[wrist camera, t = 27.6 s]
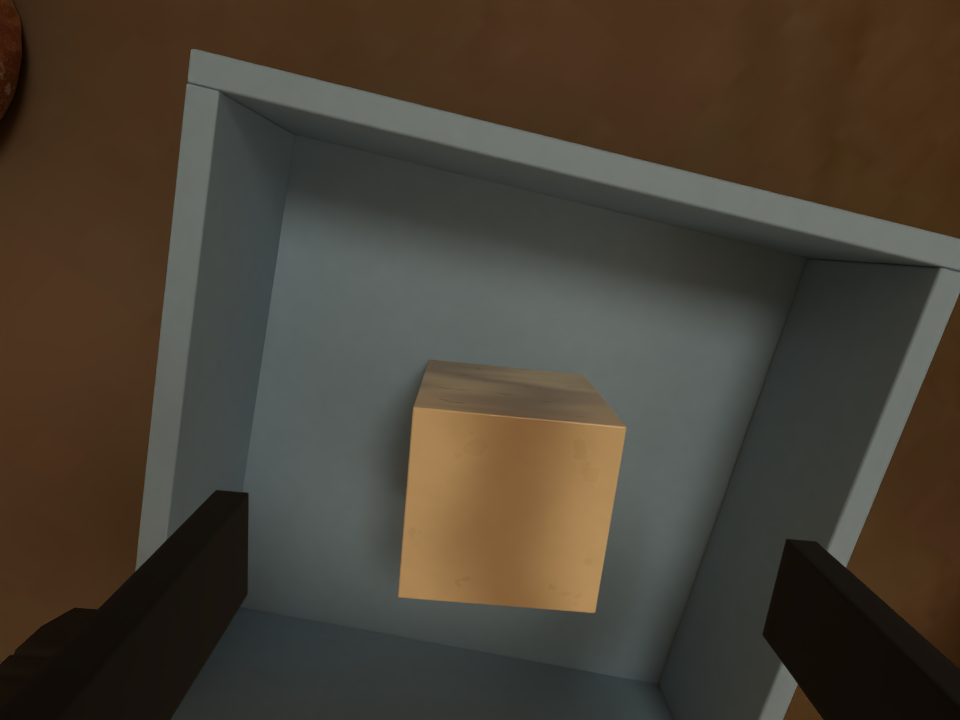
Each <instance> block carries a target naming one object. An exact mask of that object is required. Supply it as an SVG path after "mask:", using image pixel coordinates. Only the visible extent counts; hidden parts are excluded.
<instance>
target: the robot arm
mask: <svg viewBox="0 0 960 720" xmlns="http://www.w3.org/2000/svg"><path fill="white" fill-rule="evenodd" d="M248 514H249V493H246V492H234V491H223V490H216V491H215V492H214V493H213V494H212V495H211V496H210V497H209V498H208V499H207V500H206V501H205V502H204V503H203V504H202V505H201V506H200V507H199V508H198V509H197V510H196V511H195V512H194V513H193V514H192V515H191V516H190V517H189V518H188V519H187V520H186V521H185V522H184V523H183V524H182V525H181V526H180V527H179V528H178V529H177V530H176V531H175V532H174V533H173V534H172V535H171V536H170V537H169V538H168V539H167V540H166V541H165V542H164V543H163V544H162V545H161V546H160V547H159V548H158V549H157V550H156V551H155V552H154V553H153V554H152V555H151V556H150V557H149V558H148V559H147V560H146V561H145V562H144V563H143V564H142V565H141V566H140V567H139V568H138V569H137V570H136V572H135V573H134V574H133V575H132V576H131V577H130V578H129V579H128V580H127V581H126V582H125V583H124V584H123V585H122V586H121V587H120V588H119V589H118V590H117V591H116V592H115V593H114V594H113V595H112V596H111V597H110V598H109V599H108V600H107V601H106V602H105V603H104V604H103V605H102V606H101V607H100V608H99V609H98V610H97V609H84V608H73V609H71V610H70V611H68V612H66V613H64V614H63V615H61V616H59V617H57V618H56V619H54V620H52V621H50V622H48V623H47V624H45V625H43V626H41V627H40V628H39V629H38V630H37V631H36V632H35V633H34V634H33V635H31V636H30V637H29V638H28V639H27V640H26V641H25V642H24V643H23V644H22V645H21V646H19V647H18V648H17V649H16V650H15V653H14V655H10V656H9V657H8V658H6V659H5V660H4V661H3V662H2V663H1V664H0V720H171V718H172V716H173V715H174V713H175V712H176V710H177V708H178V707H179V705H180V703H181V702H182V700H183V699H184V697H185V695H186V694H187V692H188V690H189V689H190V687H191V686H192V684H193V682H194V681H195V679H196V677H197V676H198V674H199V673H200V671H201V669H202V668H203V666H204V664H205V663H206V661H207V660H208V658H209V656H210V655H211V653H212V651H213V650H214V648H215V647H216V645H217V643H218V642H219V640H220V638H221V637H222V635H223V634H224V632H225V630H226V629H227V627H228V625H229V624H230V622H231V621H232V619H233V617H234V616H235V614H236V612H237V611H238V609H239V608H240V606H241V604H242V603H243V601H244V599H245V598H246V596H247V595H248ZM762 635H763V637H764V638H765V639H766V641H767V642H768V644H769V645H770V646H771V648H772V649H773V650H774V652H775V653H776V655H777V656H778V657H779V659H780V660H781V661H782V663H783V664H784V666H785V667H786V668H787V670H788V671H789V673H790V674H791V675H792V677H793V678H794V679H795V681H796V682H797V684H798V685H799V686H800V688H801V689H802V690H803V692H804V693H805V695H806V696H807V697H808V699H809V700H810V701H811V703H812V704H813V706H814V707H815V708H816V710H817V711H818V713H819V714H820V715H821V717H822V718H823V719H824V720H960V669H959V668H958V667H956V666H955V665H954V664H953V663H952V662H951V661H950V660H949V659H947V658H946V657H945V656H944V655H943V654H942V653H941V652H940V651H939V650H937V649H936V648H935V647H934V646H933V645H932V644H931V643H930V642H928V641H927V640H926V639H925V638H924V637H923V636H922V635H921V634H919V633H918V632H917V631H916V630H915V629H914V628H913V627H912V626H911V625H909V624H908V623H907V622H906V621H905V620H904V619H903V618H902V617H900V616H899V615H898V614H897V613H896V612H895V611H894V610H893V609H891V608H890V607H889V606H888V605H887V604H886V603H885V602H884V601H883V600H881V599H880V598H879V597H878V596H877V595H876V594H875V593H874V592H872V591H871V590H870V589H869V588H868V587H867V586H866V585H865V584H863V583H862V582H861V581H860V580H859V579H858V578H857V577H856V576H855V575H853V574H852V573H851V572H850V571H849V570H848V569H847V568H846V567H844V566H843V565H842V564H841V563H840V562H839V561H838V560H837V559H835V558H834V557H833V556H832V555H831V554H830V553H829V552H828V551H827V550H825V549H824V548H823V547H822V546H821V545H820V544H819V543H818V542H816V541H806V540H795V539H786V541H785V545H784V549H783V553H782V557H781V561H780V565H779V569H778V573H777V577H776V581H775V585H774V589H773V593H772V597H771V601H770V605H769V609H768V613H767V617H766V621H765V625H764V629H763V633H762Z"/></svg>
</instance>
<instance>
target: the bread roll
mask: <svg viewBox="0 0 960 720" xmlns="http://www.w3.org/2000/svg"><path fill="white" fill-rule="evenodd" d="M21 58H22V35H21V21H20V16H19V14H18V12H17V10H16V8H15V6H14V2H13V0H0V119H1V118H2V117H3V115H4V114H5V112H6V111H7V109H8V107H9V105H10V103H11V101H12V99H13V96H14V93H15V90H16V87H17V83H18V77H19V71H20V65H21Z"/></svg>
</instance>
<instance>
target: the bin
mask: <svg viewBox="0 0 960 720" xmlns="http://www.w3.org/2000/svg"><path fill="white" fill-rule="evenodd" d="M188 82H189V83H190V84H187V85H186V94H185V104H184V113H183V123H182V132H181V142H180V151H179V161H178V170H177V180H176V189H175V199H174V208H173V218H172V227H171V236H170V246H169V255H168V265H167V274H166V284H165V293H164V303H163V312H162V322H161V331H160V341H159V350H158V360H157V369H156V379H155V388H154V398H153V407H152V416H151V426H150V435H149V445H148V454H147V464H146V473H145V483H144V492H143V502H142V511H141V521H140V530H139V540H138V549H137V559H136V568H135V572H136V570H137V569H138V568H139V567H140V566H141V565H142V564H143V563H144V562H145V561H146V560H147V559H148V558H149V557H150V556H151V555H152V554H153V553H154V552H155V551H156V550H157V549H158V548H159V547H160V546H161V545H162V544H163V543H164V542H165V541H166V540H167V539H168V538H169V537H170V536H171V535H172V534H173V533H174V532H175V531H176V530H177V529H178V528H179V527H180V526H181V525H182V524H183V523H184V522H185V521H186V520H187V519H188V518H189V517H190V516H191V515H192V514H193V513H194V512H195V511H196V510H197V509H198V508H199V507H200V506H201V505H202V504H203V503H204V502H205V501H206V500H207V499H208V498H209V497H210V496H211V495H212V494H213V493H214V492H215V491H216V490H223V491H234V492H246V493H249V514H248V595H247V596H246V598H245V599H244V601H243V603H242V604H241V606H240V608H239V609H238V611H237V612H236V614H235V616H234V617H233V619H232V621H231V622H230V624H229V625H228V627H227V629H226V630H225V632H224V634H223V635H222V637H221V638H220V640H219V642H218V643H217V645H216V647H215V648H214V650H213V651H212V653H211V655H210V656H209V658H208V660H207V661H206V663H205V664H204V666H203V668H202V669H201V671H200V673H199V674H198V676H197V677H196V679H195V681H194V682H193V684H192V686H191V687H190V689H189V690H188V692H187V694H186V695H185V697H184V699H183V700H182V702H181V703H180V705H179V707H178V708H177V710H176V712H175V713H174V715H173V716H172V718H171V720H783V718H784V716H785V713H786V711H787V709H788V706H789V704H790V701H791V699H792V697H793V694H794V692H795V689H796V687H797V682H796V681H795V679H794V678H793V677H792V675H791V674H790V673H789V671H788V670H787V668H786V667H785V666H784V664H783V663H782V661H781V660H780V659H779V657H778V656H777V655H776V653H775V652H774V650H773V649H772V648H771V646H770V645H769V644H768V642H767V641H766V639H765V638H764V637H763V635H762V633H763V629H764V625H765V621H766V617H767V613H768V609H769V605H770V601H771V597H772V593H773V589H774V585H775V581H776V577H777V573H778V569H779V565H780V561H781V557H782V553H783V549H784V545H785V541H786V539H795V540H806V541H816V542H818V543H819V544H820V545H821V546H822V547H823V548H824V549H825V550H827V551H828V552H829V553H830V554H831V555H832V556H833V557H834V558H835V559H837V560H838V561H839V562H840V563H841V564H842V565H843V566H844V567H846V566H847V564H848V561H849V559H850V556H851V554H852V552H853V549H854V547H855V544H856V542H857V540H858V537H859V535H860V532H861V530H862V527H863V525H864V523H865V520H866V518H867V515H868V513H869V511H870V508H871V506H872V503H873V501H874V498H875V496H876V494H877V491H878V489H879V486H880V484H881V482H882V479H883V477H884V474H885V472H886V469H887V467H888V465H889V462H890V460H891V457H892V455H893V453H894V450H895V448H896V445H897V443H898V440H899V438H900V436H901V433H902V431H903V428H904V426H905V424H906V421H907V419H908V416H909V414H910V412H911V409H912V407H913V404H914V402H915V399H916V397H917V395H918V392H919V390H920V387H921V385H922V383H923V380H924V378H925V375H926V373H927V370H928V368H929V366H930V363H931V361H932V358H933V356H934V354H935V351H936V349H937V346H938V344H939V341H940V339H941V337H942V334H943V332H944V329H945V327H946V325H947V322H948V320H949V317H950V315H951V312H952V310H953V308H954V305H955V303H956V300H957V298H958V296H959V293H960V239H959V238H955V237H951V236H946V235H942V234H938V233H934V232H930V231H926V230H922V229H918V228H914V227H910V226H906V225H902V224H898V223H894V222H890V221H886V220H882V219H878V218H874V217H870V216H866V215H862V214H858V213H854V212H850V211H846V210H842V209H838V208H834V207H830V206H826V205H822V204H818V203H814V202H810V201H806V200H801V199H797V198H793V197H789V196H785V195H781V194H777V193H773V192H769V191H765V190H761V189H757V188H753V187H749V186H745V185H741V184H737V183H733V182H729V181H725V180H721V179H717V178H713V177H709V176H705V175H701V174H697V173H693V172H689V171H685V170H681V169H677V168H673V167H669V166H665V165H661V164H656V163H652V162H648V161H644V160H640V159H636V158H632V157H628V156H624V155H620V154H616V153H612V152H608V151H604V150H600V149H596V148H592V147H588V146H584V145H580V144H576V143H572V142H568V141H564V140H560V139H556V138H552V137H548V136H544V135H540V134H536V133H532V132H528V131H524V130H520V129H516V128H511V127H507V126H503V125H499V124H495V123H491V122H487V121H483V120H479V119H475V118H471V117H467V116H463V115H459V114H455V113H451V112H447V111H443V110H439V109H435V108H431V107H427V106H423V105H419V104H415V103H411V102H407V101H403V100H399V99H395V98H391V97H387V96H383V95H379V94H375V93H371V92H366V91H362V90H358V89H354V88H350V87H346V86H342V85H338V84H334V83H330V82H326V81H322V80H318V79H314V78H310V77H306V76H302V75H298V74H294V73H290V72H286V71H282V70H278V69H274V68H270V67H266V66H262V65H258V64H254V63H250V62H246V61H242V60H238V59H234V58H230V57H226V56H221V55H217V54H213V53H209V52H205V51H201V50H197V49H191V52H190V61H189V71H188ZM429 360H438V361H449V362H459V363H469V364H480V365H490V366H500V367H511V368H521V369H531V370H542V371H552V372H562V373H573V374H583V375H584V376H585V377H586V378H587V379H588V380H589V382H590V383H591V384H592V385H593V387H594V388H595V389H596V390H597V391H598V393H599V394H600V395H601V396H602V398H603V399H604V400H605V401H606V402H607V404H608V405H609V406H610V407H611V409H612V410H613V411H614V412H615V414H616V415H617V416H618V417H619V418H620V420H621V421H622V422H623V423H624V425H625V426H626V434H625V440H624V446H623V452H622V458H621V464H620V470H619V475H618V481H617V487H616V493H615V499H614V505H613V511H612V517H611V523H610V529H609V534H608V540H607V546H606V552H605V558H604V564H603V570H602V576H601V582H600V588H599V594H598V599H597V605H596V611H595V613H587V612H575V611H562V610H550V609H537V608H524V607H512V606H499V605H487V604H474V603H462V602H449V601H437V600H424V599H412V598H399V597H398V587H399V574H400V562H401V549H402V537H403V524H404V512H405V499H406V487H407V475H408V462H409V450H410V437H411V425H412V412H413V406H414V403H415V400H416V397H417V394H418V391H419V388H420V385H421V382H422V379H423V376H424V373H425V370H426V367H427V364H428V361H429Z"/></svg>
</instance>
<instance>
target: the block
mask: <svg viewBox="0 0 960 720" xmlns="http://www.w3.org/2000/svg"><path fill="white" fill-rule="evenodd" d="M625 434H626V426H625V425H624V423H623V422H622V421H621V420H620V418H619V417H618V416H617V415H616V414H615V412H614V411H613V410H612V409H611V407H610V406H609V405H608V404H607V402H606V401H605V400H604V399H603V398H602V396H601V395H600V394H599V393H598V391H597V390H596V389H595V388H594V387H593V385H592V384H591V383H590V382H589V380H588V379H587V378H586V377H585V376H584V375H583V374H573V373H562V372H552V371H542V370H531V369H521V368H511V367H500V366H490V365H480V364H469V363H459V362H449V361H438V360H429V361H428V364H427V367H426V370H425V373H424V376H423V379H422V382H421V385H420V388H419V391H418V394H417V397H416V400H415V403H414V406H413V412H412V425H411V437H410V450H409V462H408V475H407V487H406V499H405V512H404V524H403V537H402V549H401V562H400V574H399V587H398V597H399V598H412V599H424V600H437V601H449V602H462V603H474V604H487V605H499V606H512V607H524V608H537V609H550V610H562V611H575V612H587V613H595V611H596V605H597V599H598V594H599V588H600V582H601V576H602V570H603V564H604V558H605V552H606V546H607V540H608V534H609V529H610V523H611V517H612V511H613V505H614V499H615V493H616V487H617V481H618V475H619V470H620V464H621V458H622V452H623V446H624V440H625Z"/></svg>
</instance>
